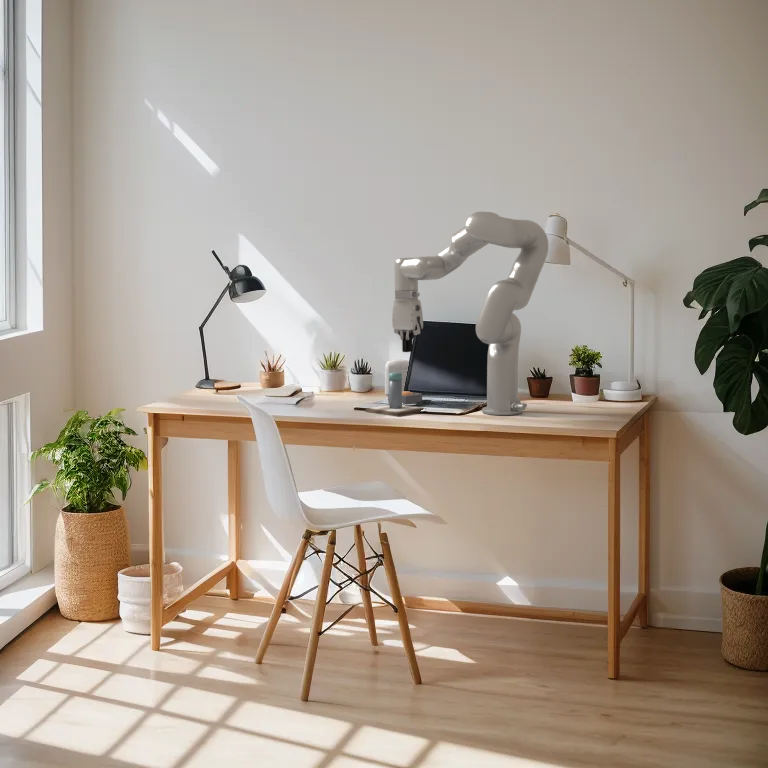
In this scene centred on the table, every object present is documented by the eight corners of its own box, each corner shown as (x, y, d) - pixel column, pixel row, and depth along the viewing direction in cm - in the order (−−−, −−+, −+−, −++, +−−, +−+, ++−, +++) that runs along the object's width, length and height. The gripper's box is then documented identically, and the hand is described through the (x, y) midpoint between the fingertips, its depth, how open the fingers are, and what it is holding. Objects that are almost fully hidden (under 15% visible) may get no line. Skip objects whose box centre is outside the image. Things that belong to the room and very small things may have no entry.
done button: (415, 399, 329) (415, 392, 328) (405, 401, 325) (405, 393, 325) (404, 398, 332) (404, 390, 332) (394, 399, 329) (394, 392, 328)
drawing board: (425, 411, 314) (425, 407, 314) (397, 416, 305) (397, 412, 304) (393, 406, 324) (393, 403, 323) (365, 411, 314) (365, 407, 314)
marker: (405, 407, 314) (404, 373, 312) (396, 409, 311) (395, 374, 309) (395, 406, 317) (395, 372, 315) (386, 407, 314) (385, 373, 312)
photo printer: (410, 392, 356) (410, 358, 355) (414, 394, 352) (414, 359, 351) (383, 394, 353) (383, 359, 351) (387, 395, 349) (387, 360, 347)
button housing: (422, 404, 329) (422, 393, 328) (405, 406, 323) (405, 396, 323) (404, 401, 334) (404, 391, 334) (388, 404, 329) (388, 394, 328)
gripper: (431, 295, 322) (432, 352, 324) (397, 295, 332) (398, 349, 334) (415, 296, 316) (416, 353, 319) (382, 295, 327) (383, 351, 329)
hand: (407, 351), depth 327 cm, fingers closed
